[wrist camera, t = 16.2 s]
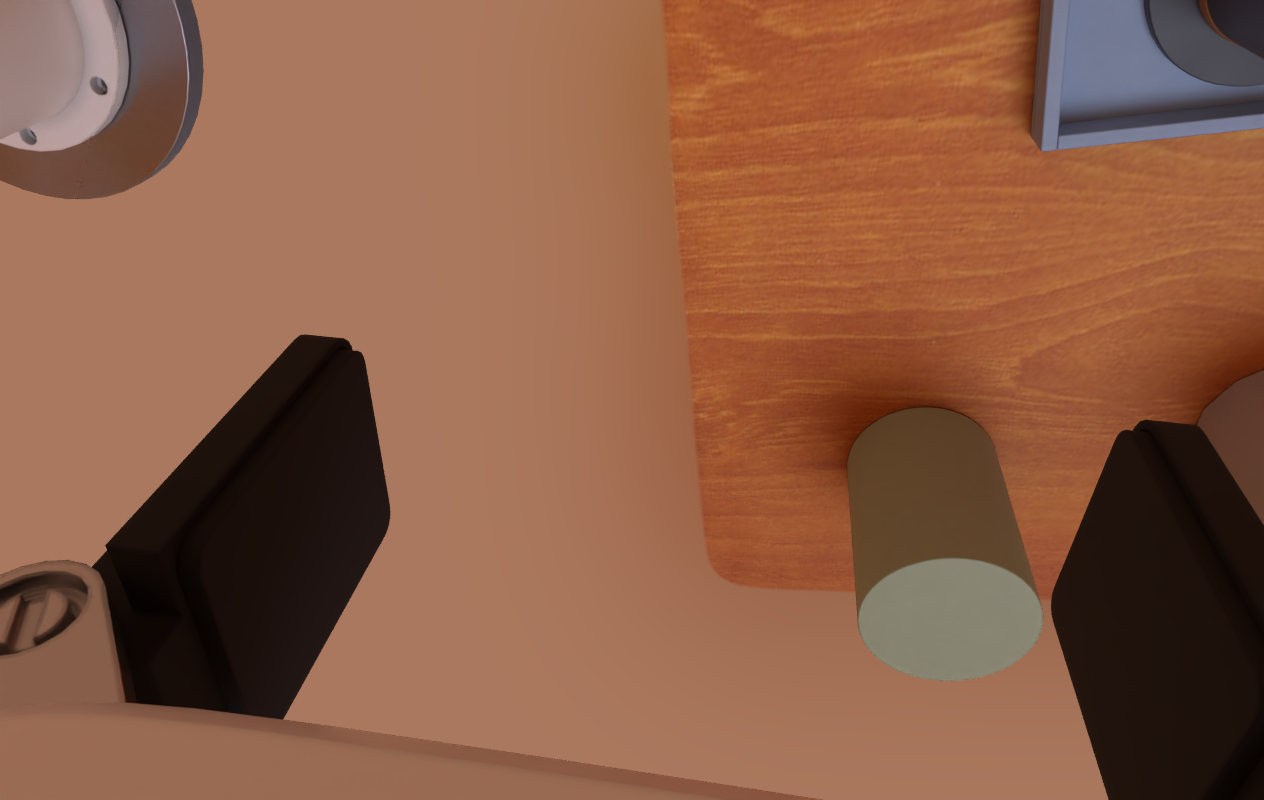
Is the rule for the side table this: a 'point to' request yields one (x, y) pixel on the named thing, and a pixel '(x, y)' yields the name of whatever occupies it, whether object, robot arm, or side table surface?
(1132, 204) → the side table surface
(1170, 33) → the hat
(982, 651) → the pedestal
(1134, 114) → the tray
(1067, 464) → the side table surface
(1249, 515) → the robot arm
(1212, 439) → the cup
